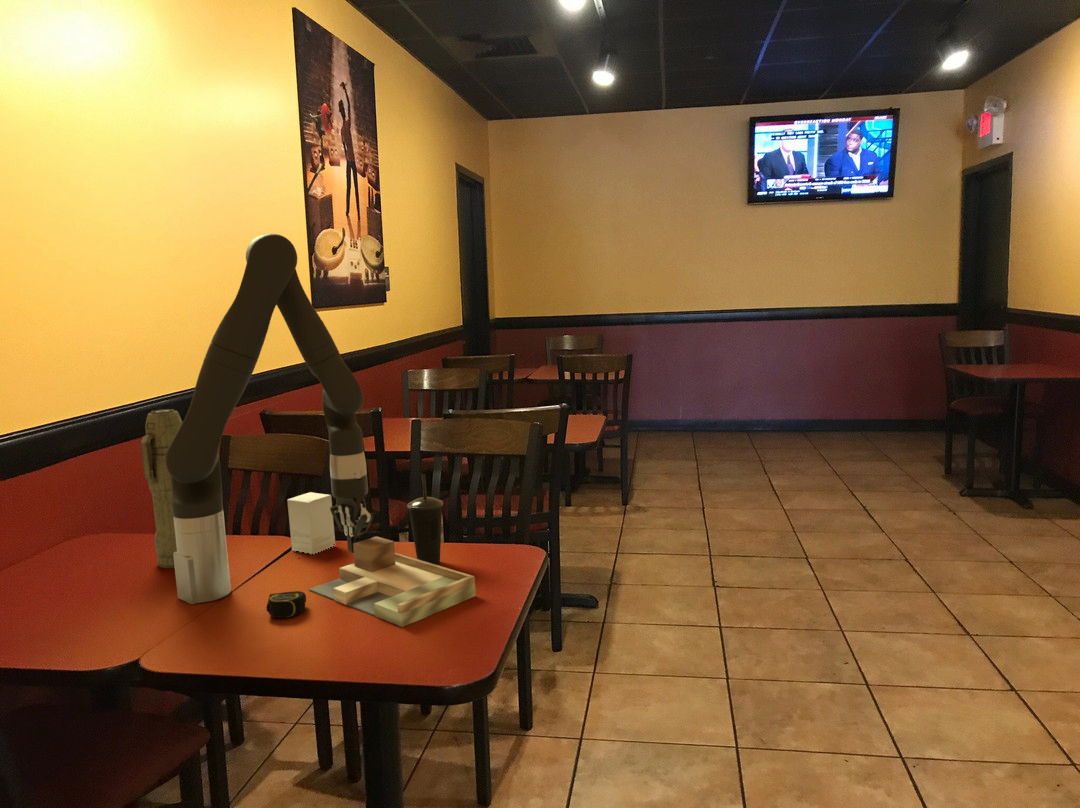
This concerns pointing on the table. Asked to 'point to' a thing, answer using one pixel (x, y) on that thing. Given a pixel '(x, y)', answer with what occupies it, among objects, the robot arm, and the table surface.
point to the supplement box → (311, 522)
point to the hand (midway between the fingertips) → (354, 551)
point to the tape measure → (286, 604)
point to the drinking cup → (426, 526)
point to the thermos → (161, 479)
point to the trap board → (400, 589)
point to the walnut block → (374, 554)
